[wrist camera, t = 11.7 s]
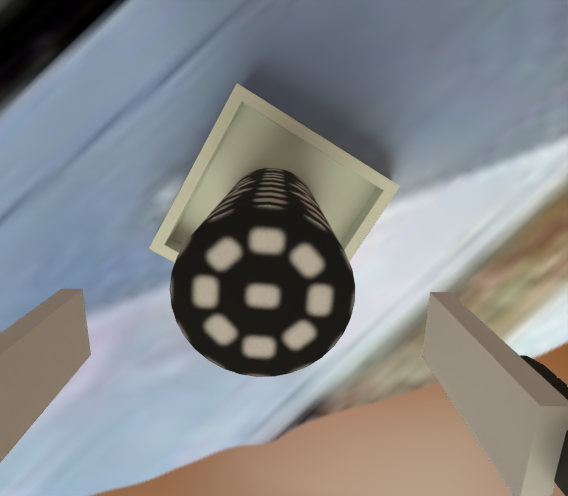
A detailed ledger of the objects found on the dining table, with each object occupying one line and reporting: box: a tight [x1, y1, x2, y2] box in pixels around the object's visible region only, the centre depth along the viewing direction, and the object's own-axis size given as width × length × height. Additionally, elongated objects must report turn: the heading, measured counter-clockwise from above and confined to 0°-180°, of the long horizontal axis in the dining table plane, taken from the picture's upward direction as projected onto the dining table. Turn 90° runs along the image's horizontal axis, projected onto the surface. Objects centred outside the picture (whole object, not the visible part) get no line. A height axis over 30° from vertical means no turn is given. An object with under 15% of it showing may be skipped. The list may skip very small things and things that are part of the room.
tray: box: [149, 83, 400, 262], centre depth 36 cm, size 16×16×3 cm
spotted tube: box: [170, 168, 355, 377], centre depth 28 cm, size 8×8×20 cm
